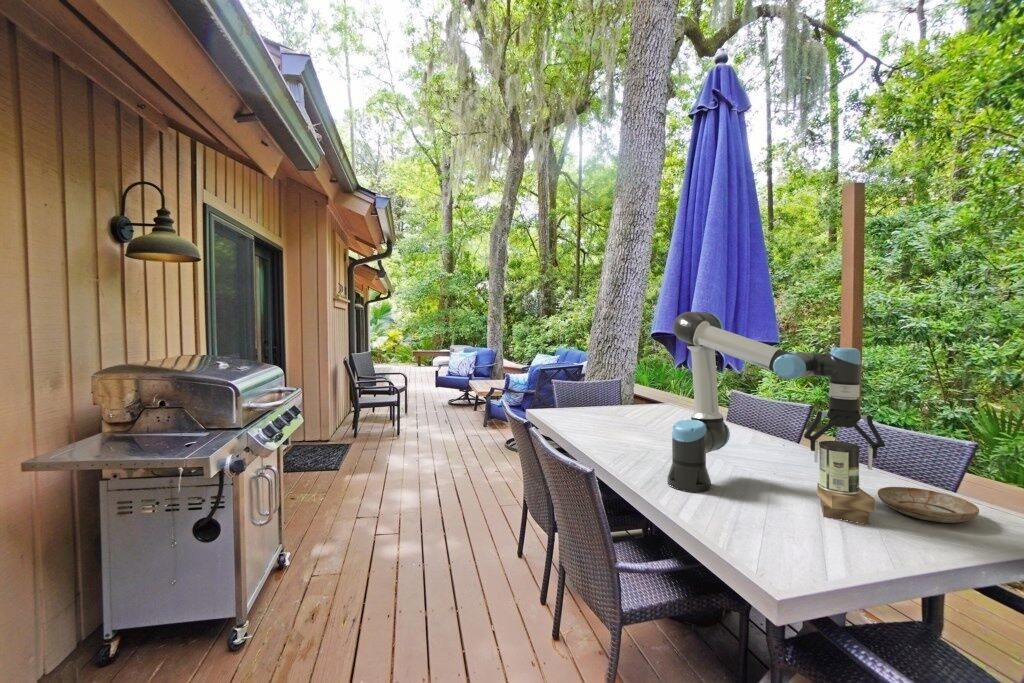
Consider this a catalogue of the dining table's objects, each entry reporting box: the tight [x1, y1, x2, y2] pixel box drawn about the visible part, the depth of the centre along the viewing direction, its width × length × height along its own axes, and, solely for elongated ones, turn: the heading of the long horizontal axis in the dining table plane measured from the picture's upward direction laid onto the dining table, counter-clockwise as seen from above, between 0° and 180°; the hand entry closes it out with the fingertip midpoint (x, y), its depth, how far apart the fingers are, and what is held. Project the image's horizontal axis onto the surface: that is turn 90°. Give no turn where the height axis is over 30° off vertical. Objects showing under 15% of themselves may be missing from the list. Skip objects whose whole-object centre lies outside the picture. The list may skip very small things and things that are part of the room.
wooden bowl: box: [877, 486, 980, 524], centre depth 140 cm, size 23×24×5 cm
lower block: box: [820, 498, 870, 525], centre depth 140 cm, size 11×11×4 cm
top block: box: [816, 482, 876, 513], centre depth 140 cm, size 11×11×4 cm
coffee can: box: [818, 440, 861, 495], centre depth 141 cm, size 10×10×14 cm
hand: (842, 465), depth 140 cm, fingers open, 13 cm apart
